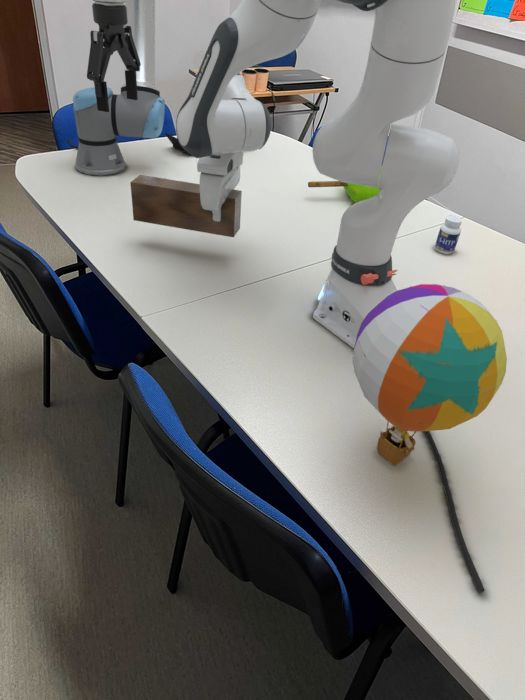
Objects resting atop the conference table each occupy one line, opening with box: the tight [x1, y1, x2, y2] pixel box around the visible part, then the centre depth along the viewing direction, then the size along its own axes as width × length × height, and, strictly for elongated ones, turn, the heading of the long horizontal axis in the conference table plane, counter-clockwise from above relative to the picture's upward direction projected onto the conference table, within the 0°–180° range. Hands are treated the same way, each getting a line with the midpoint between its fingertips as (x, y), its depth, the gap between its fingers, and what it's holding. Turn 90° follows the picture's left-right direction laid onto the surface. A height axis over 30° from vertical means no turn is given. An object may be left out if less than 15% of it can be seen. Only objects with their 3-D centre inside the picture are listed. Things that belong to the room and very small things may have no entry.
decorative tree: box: [307, 166, 382, 203], centre depth 160 cm, size 18×10×30 cm
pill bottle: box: [434, 215, 463, 255], centre depth 137 cm, size 5×5×9 cm
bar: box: [129, 174, 243, 238], centre depth 122 cm, size 25×5×9 cm, turn 77°
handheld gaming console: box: [164, 132, 193, 157], centre depth 185 cm, size 12×7×10 cm
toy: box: [352, 283, 508, 467], centre depth 73 cm, size 20×20×30 cm
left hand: (118, 105), depth 129 cm, fingers open, 13 cm apart
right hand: (221, 214), depth 121 cm, fingers closed on bar, 5 cm apart
